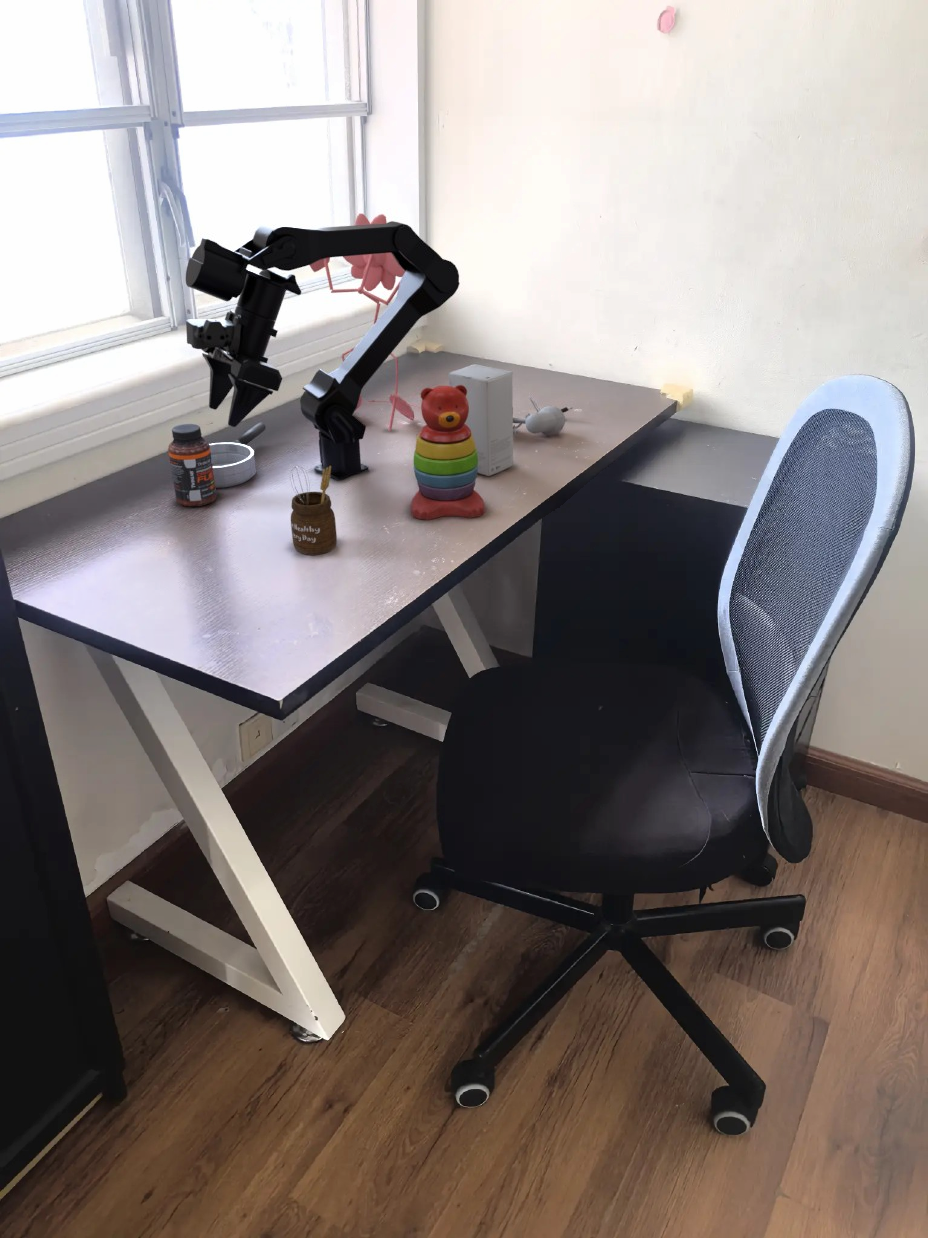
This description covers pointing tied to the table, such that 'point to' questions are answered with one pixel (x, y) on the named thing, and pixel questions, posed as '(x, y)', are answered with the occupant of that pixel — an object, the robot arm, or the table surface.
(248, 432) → the pan handle
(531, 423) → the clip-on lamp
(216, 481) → the pan
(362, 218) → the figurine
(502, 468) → the cosmetic box
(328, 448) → the robot arm
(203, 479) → the supplement bottle
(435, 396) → the stacking bear
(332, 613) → the table surface
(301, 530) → the utensil holder
